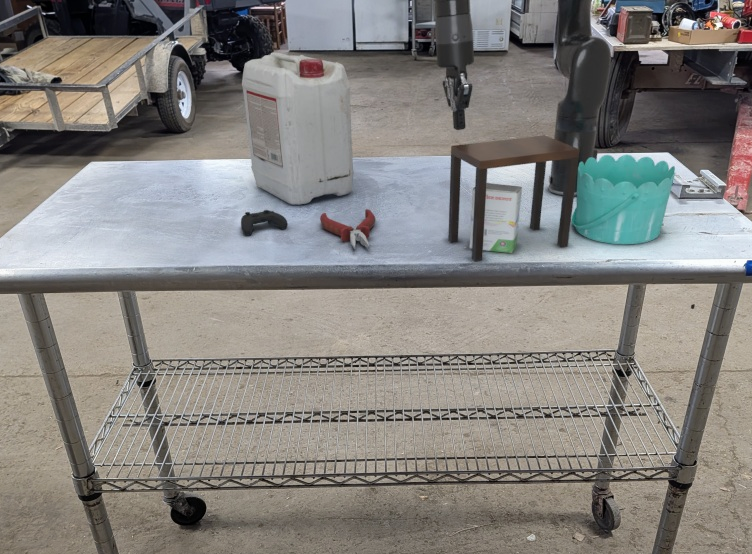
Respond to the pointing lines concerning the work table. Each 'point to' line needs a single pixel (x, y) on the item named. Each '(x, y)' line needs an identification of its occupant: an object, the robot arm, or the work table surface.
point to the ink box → (499, 217)
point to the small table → (511, 155)
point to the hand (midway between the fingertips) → (459, 129)
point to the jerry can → (299, 126)
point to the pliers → (350, 229)
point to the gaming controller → (261, 220)
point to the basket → (622, 199)
